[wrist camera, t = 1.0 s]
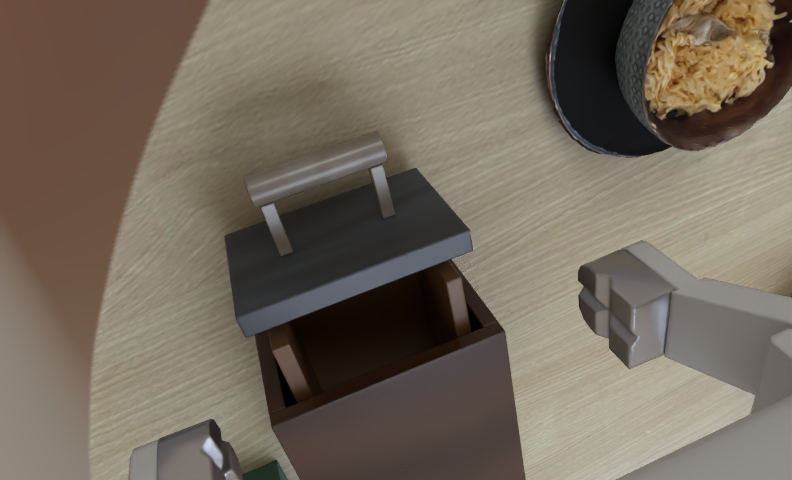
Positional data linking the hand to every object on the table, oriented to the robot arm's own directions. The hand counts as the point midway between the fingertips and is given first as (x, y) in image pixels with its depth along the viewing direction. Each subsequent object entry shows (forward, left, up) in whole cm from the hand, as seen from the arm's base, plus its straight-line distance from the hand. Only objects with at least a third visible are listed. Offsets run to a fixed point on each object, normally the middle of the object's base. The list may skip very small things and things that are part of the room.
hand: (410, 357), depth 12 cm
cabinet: (+17, -6, -18) cm, 26 cm away
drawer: (+9, -3, -17) cm, 20 cm away
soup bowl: (+10, +19, -19) cm, 28 cm away
